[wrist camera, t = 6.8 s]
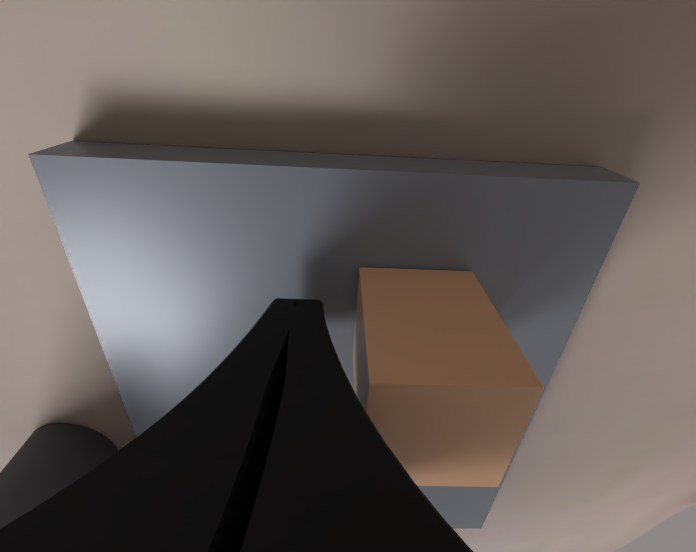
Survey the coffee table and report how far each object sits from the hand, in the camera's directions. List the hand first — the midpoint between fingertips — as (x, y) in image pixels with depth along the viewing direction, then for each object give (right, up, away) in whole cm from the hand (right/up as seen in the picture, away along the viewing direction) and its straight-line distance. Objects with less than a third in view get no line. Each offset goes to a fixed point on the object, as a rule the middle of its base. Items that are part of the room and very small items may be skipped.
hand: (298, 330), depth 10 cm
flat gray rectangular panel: (+1, -2, +4) cm, 5 cm away
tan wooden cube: (+3, 0, +1) cm, 3 cm away
